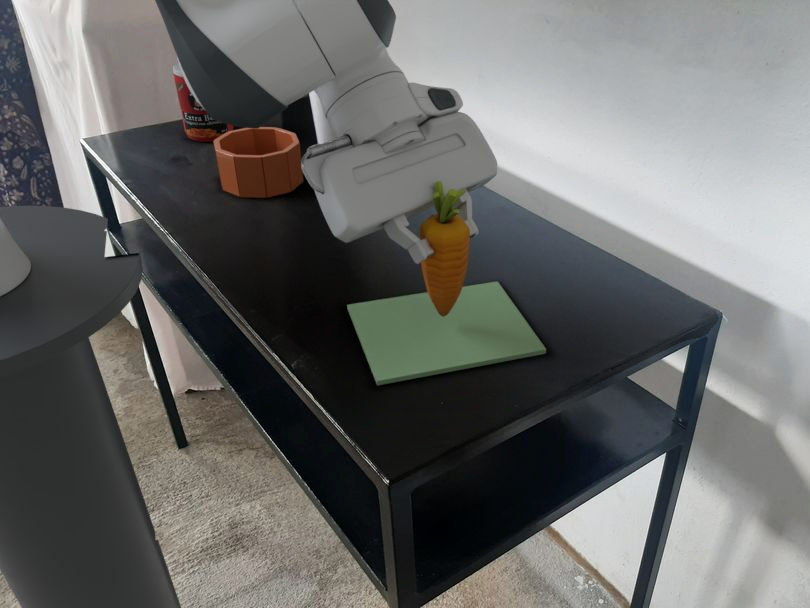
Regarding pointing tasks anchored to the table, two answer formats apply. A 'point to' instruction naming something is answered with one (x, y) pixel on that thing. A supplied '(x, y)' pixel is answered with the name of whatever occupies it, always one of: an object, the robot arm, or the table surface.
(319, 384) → the table surface
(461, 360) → the mat
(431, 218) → the carrot
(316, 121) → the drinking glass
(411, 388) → the table surface
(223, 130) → the canned food
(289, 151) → the pot
